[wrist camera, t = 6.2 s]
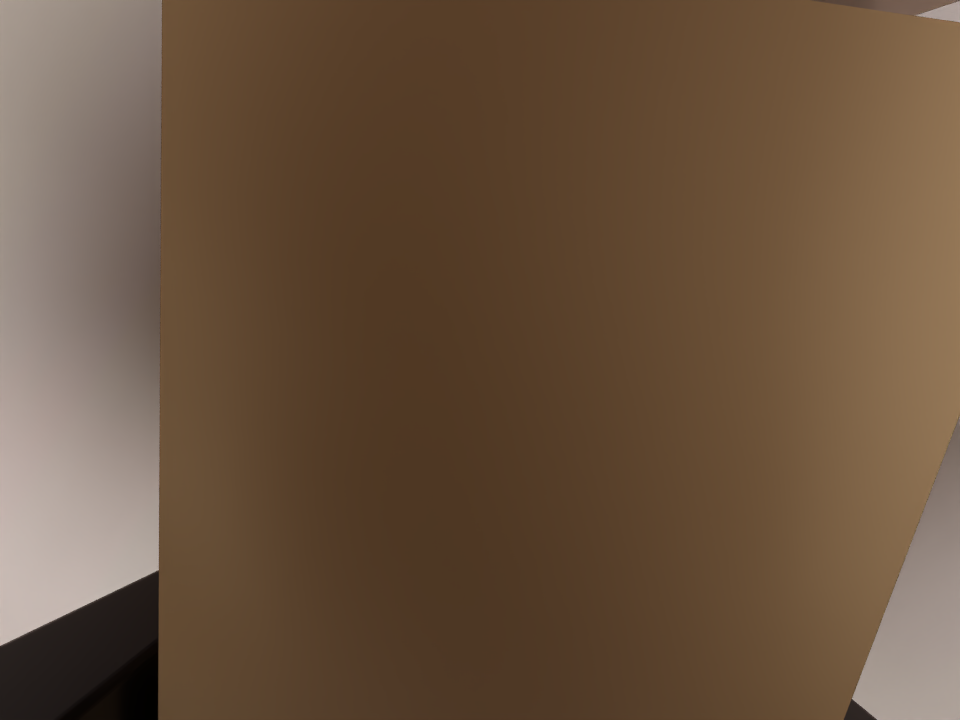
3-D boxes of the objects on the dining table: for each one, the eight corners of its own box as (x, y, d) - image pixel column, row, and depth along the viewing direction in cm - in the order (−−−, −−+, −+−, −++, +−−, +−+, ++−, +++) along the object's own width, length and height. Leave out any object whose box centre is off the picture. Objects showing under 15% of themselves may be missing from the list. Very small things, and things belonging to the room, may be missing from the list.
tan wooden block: (806, 94, 7) (1099, 42, 4) (591, 894, 11) (627, 1288, 7) (345, 25, 8) (163, -96, 4) (280, 842, 11) (155, 1205, 7)
